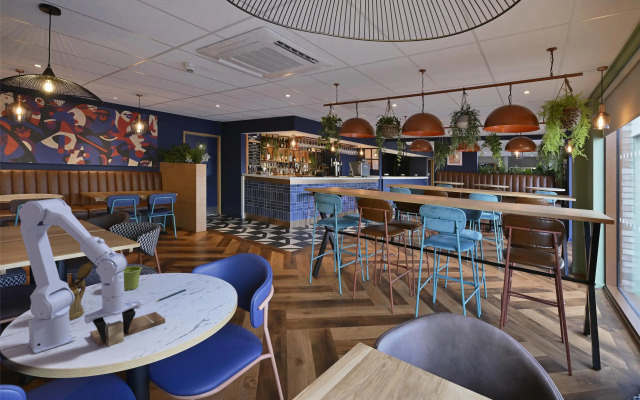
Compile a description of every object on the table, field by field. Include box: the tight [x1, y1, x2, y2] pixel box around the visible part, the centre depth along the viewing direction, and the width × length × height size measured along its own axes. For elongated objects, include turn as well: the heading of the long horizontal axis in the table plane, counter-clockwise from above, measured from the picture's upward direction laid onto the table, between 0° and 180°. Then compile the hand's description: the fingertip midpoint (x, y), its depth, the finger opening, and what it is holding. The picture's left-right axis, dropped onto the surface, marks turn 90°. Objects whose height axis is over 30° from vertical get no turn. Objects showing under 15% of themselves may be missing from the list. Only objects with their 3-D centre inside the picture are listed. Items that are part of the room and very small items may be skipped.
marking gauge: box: [105, 320, 125, 347], centre depth 100 cm, size 4×8×6 cm, turn 50°
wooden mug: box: [68, 260, 94, 321], centre depth 116 cm, size 9×14×18 cm, turn 161°
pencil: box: [155, 288, 187, 303], centre depth 135 cm, size 1×1×15 cm
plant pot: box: [121, 265, 143, 291], centre depth 142 cm, size 9×9×9 cm
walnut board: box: [89, 311, 166, 346], centre depth 106 cm, size 20×8×2 cm, turn 140°
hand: (114, 337), depth 98 cm, fingers open, 5 cm apart
